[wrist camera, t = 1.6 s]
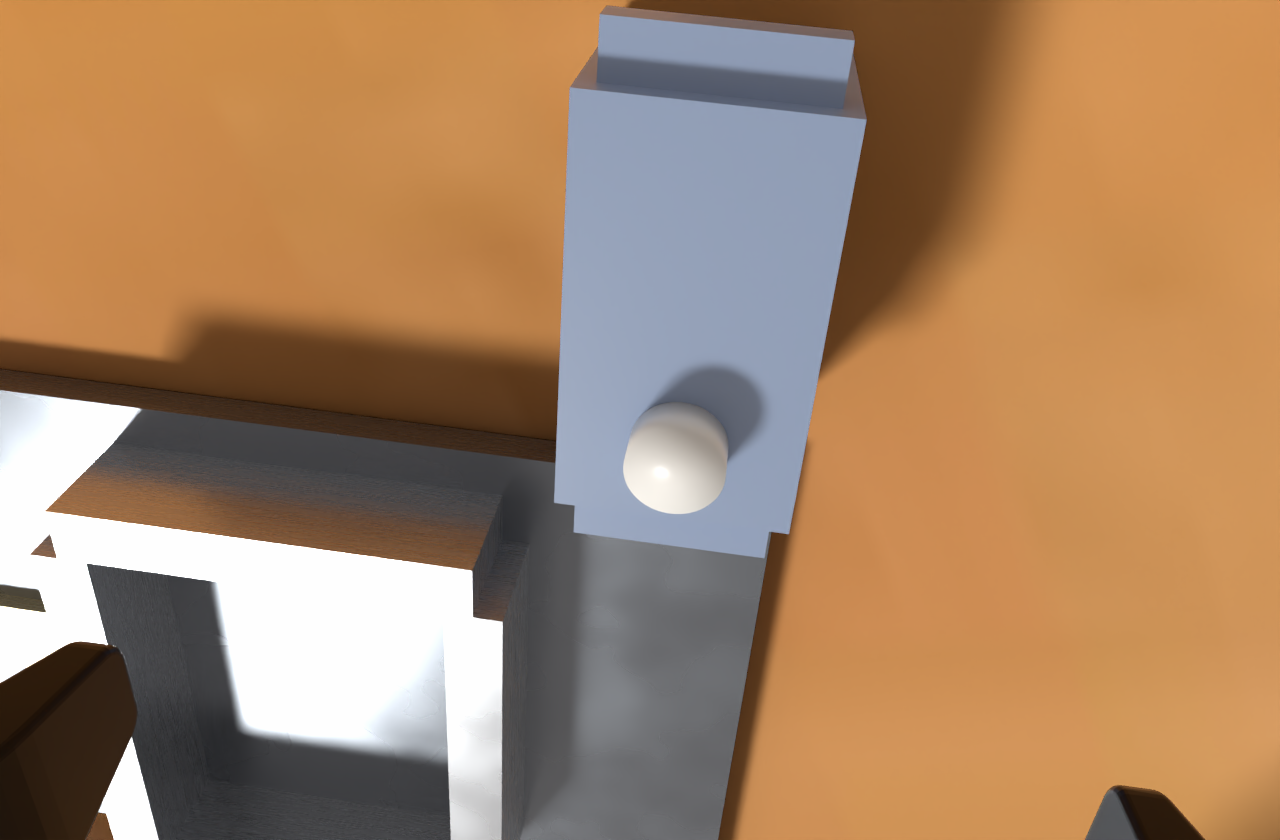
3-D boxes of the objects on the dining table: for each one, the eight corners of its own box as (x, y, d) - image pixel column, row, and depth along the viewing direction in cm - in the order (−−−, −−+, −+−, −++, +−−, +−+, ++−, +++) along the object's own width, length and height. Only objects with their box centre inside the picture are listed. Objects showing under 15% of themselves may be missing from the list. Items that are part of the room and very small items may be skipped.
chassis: (779, 470, 22) (776, 570, 19) (707, 882, 30) (699, 998, 27) (-123, 353, 24) (-245, 431, 21) (25, 775, 31) (-51, 875, 28)
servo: (861, -13, 17) (884, 64, 13) (783, 438, 22) (781, 606, 18) (618, -37, 18) (561, 30, 13) (592, 413, 22) (543, 573, 18)
